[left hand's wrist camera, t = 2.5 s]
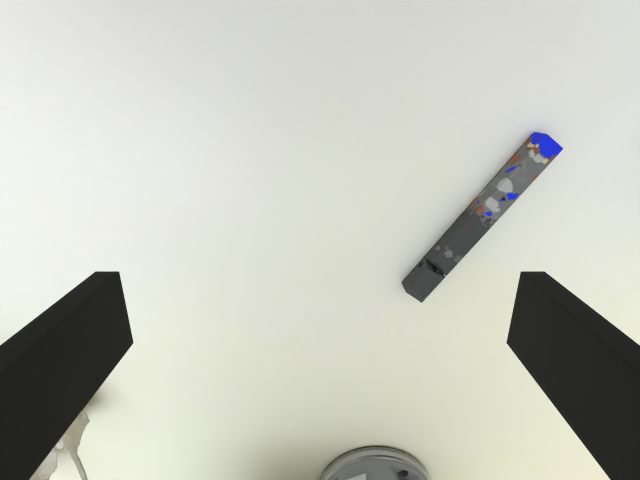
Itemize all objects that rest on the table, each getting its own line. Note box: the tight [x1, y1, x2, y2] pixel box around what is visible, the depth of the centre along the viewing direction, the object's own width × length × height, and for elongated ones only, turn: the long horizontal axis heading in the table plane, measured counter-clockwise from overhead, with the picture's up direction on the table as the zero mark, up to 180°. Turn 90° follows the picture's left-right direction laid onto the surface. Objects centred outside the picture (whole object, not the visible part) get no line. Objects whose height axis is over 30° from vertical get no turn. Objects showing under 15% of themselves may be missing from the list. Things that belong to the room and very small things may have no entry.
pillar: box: [402, 132, 563, 303], centre depth 39 cm, size 2×2×20 cm
